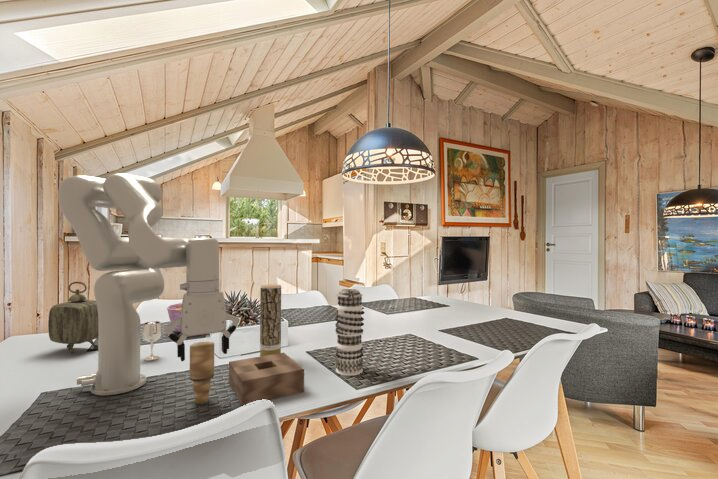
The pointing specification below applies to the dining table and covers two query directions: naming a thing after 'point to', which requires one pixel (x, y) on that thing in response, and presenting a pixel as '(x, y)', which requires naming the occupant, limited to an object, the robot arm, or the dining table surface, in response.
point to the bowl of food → (175, 314)
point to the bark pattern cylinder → (270, 319)
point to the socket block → (265, 377)
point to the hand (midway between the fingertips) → (204, 356)
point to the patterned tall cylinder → (349, 332)
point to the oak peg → (201, 369)
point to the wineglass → (151, 335)
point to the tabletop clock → (74, 320)
